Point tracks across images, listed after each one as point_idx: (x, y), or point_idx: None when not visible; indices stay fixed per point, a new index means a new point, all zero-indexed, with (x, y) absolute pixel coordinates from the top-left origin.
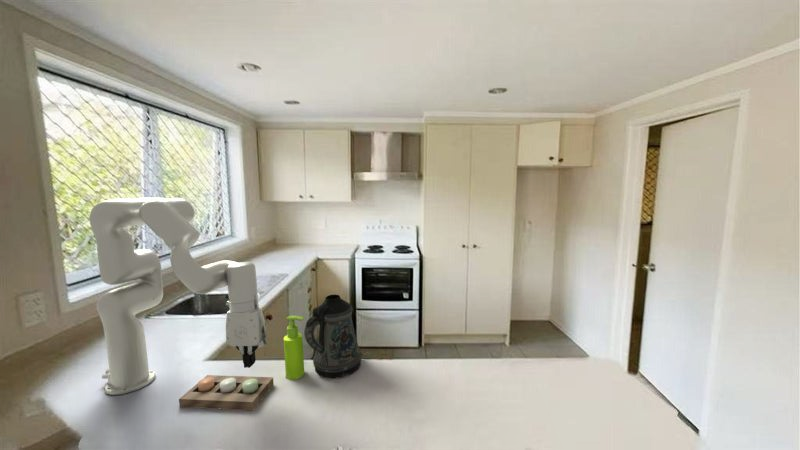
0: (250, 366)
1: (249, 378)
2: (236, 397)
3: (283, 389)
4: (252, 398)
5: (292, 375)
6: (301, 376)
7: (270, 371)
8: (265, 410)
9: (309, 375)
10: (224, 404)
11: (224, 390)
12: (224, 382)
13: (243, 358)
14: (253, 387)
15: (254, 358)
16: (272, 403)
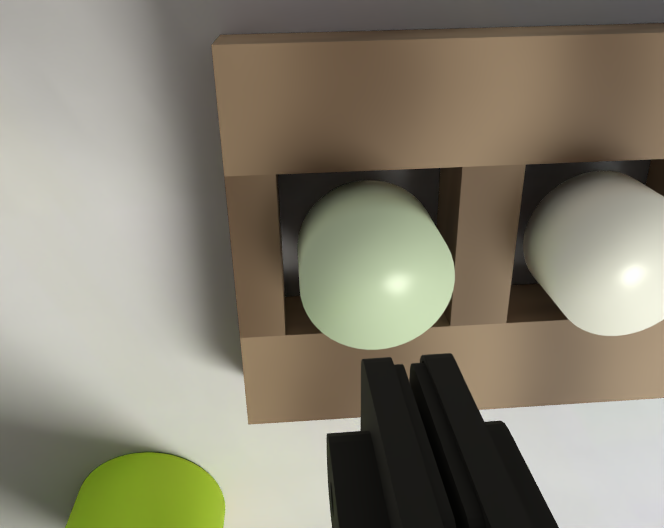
0: (361, 386)
1: None
2: (433, 103)
3: (126, 336)
4: (248, 104)
5: (122, 479)
6: (79, 491)
7: None
8: (96, 47)
9: (25, 510)
10: (523, 32)
11: (612, 182)
12: (662, 258)
13: (499, 466)
14: (312, 235)
15: (334, 521)
16: (97, 151)
